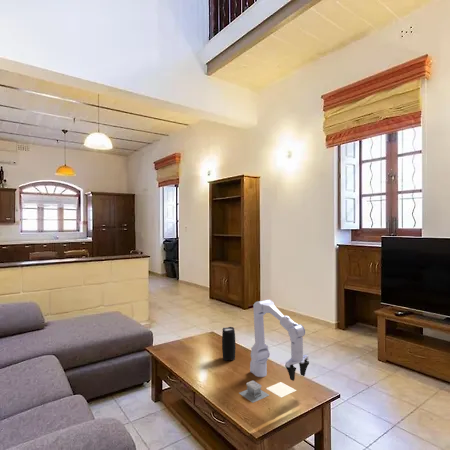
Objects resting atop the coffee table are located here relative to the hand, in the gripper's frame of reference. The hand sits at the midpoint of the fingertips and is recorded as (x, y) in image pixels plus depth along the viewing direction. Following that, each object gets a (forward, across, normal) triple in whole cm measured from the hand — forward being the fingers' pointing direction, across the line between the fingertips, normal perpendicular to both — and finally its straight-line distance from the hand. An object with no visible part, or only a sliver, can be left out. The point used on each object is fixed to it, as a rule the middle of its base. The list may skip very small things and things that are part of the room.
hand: (297, 377), depth 156 cm
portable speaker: (+10, 0, +58) cm, 59 cm away
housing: (+9, -17, +14) cm, 23 cm away
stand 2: (+10, -3, +9) cm, 14 cm away
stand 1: (+10, -17, +14) cm, 24 cm away
